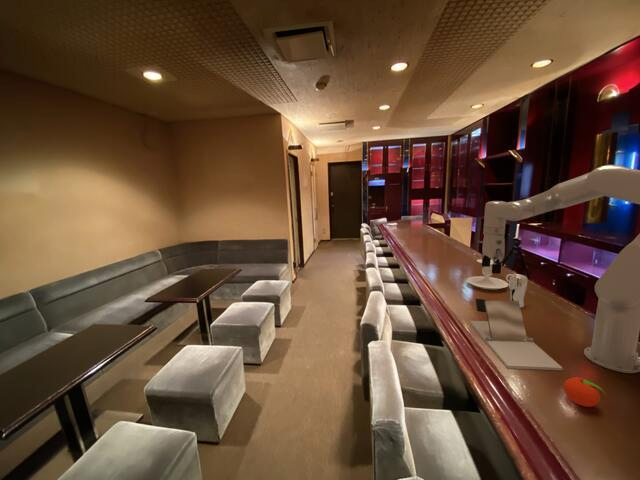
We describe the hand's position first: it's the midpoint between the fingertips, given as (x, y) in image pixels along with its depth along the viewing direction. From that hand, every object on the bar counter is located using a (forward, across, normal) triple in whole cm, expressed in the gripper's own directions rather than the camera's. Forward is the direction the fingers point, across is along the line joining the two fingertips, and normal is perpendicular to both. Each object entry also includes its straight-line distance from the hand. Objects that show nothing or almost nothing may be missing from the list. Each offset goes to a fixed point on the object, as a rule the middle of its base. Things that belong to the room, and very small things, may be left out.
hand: (490, 269), depth 113 cm
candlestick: (+24, +41, -18) cm, 51 cm away
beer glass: (+23, +16, -20) cm, 34 cm away
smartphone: (+24, +14, -5) cm, 28 cm away
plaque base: (+23, -19, 0) cm, 30 cm away
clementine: (+23, -47, -5) cm, 53 cm away
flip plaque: (+15, -15, 0) cm, 21 cm away
